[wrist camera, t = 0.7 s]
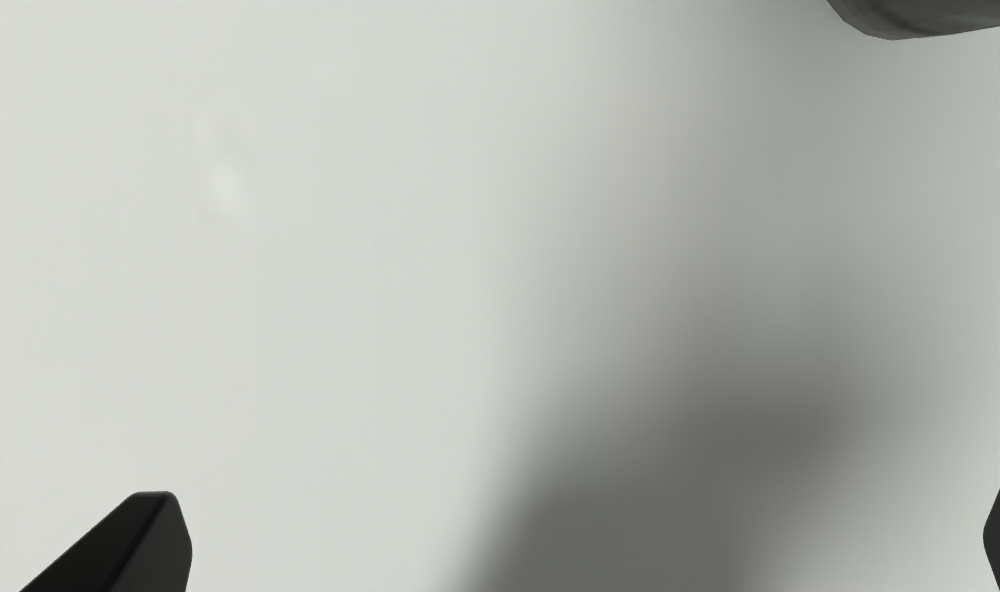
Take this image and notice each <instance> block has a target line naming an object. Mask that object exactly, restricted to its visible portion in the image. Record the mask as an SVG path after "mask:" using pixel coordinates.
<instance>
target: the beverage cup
mask: <svg viewBox="0 0 1000 592" xmlns="http://www.w3.org/2000/svg"><path fill="white" fill-rule="evenodd" d="M827 1H828V2H829V3H830V5H831V6H832V7H833V8H834V10H835V11H836V12H837V13H838V14H839V16H840V17H841V18H842V19H843V21H845V22H847V23H848V24H850V25H851V26H853V27H855V28H856V29H858V30H859V31H861V32H863V33H864V34H866V35H870V36H875V37H879V38H884V39H888V40H899V39H909V38H923V37H933V36H943V35H952V34H957V33H963V32H969V31H975V30H980V29H986V28H992V27H998V26H1000V0H827Z"/></svg>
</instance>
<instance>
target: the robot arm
mask: <svg viewBox="0 0 1000 592" xmlns="http://www.w3.org/2000/svg"><path fill="white" fill-rule="evenodd" d="M983 542H984V548H985V551H986V554H987V557H988V560H989V563H990V565H991V568H992V571H993V574H994V576H995V579H996V582H997V585H998V588H999V590H1000V490H999V492H998V494H997V497H996V499H995V502H994V504H993V507H992V509H991V511H990V514H989V516H988V519H987V521H986V523H985V526H984V532H983ZM191 562H192V543H191V539H190V536H189V533H188V530H187V527H186V524H185V521H184V517H183V514H182V511H181V508H180V505H179V502H178V500H177V498H176V496H175V495H174V494H173V493H171V492H168V491H155V492H137V493H134V494H132V495H131V496H129V497H128V498H126V499H125V500H124V501H123V502H122V503H121V504H120V505H118V506H117V507H116V508H115V509H114V510H113V511H112V512H110V513H109V514H108V515H107V516H106V517H105V518H103V519H102V520H101V521H100V522H99V523H98V524H97V525H95V526H94V527H93V528H92V529H91V530H90V531H89V532H87V533H86V534H85V535H84V536H83V537H82V538H80V539H79V540H78V541H77V542H76V543H75V544H74V545H72V546H71V547H70V548H69V549H68V550H67V551H65V552H64V553H63V554H62V555H61V556H60V557H59V558H57V559H56V560H55V561H54V562H53V563H52V564H51V565H49V566H48V567H47V568H46V569H45V570H44V571H42V572H41V573H40V574H39V575H38V576H37V577H36V578H34V579H33V580H32V581H31V582H30V583H29V584H28V585H26V586H25V587H24V588H23V589H22V590H21V591H19V592H185V591H186V586H187V582H188V577H189V572H190V568H191Z"/></svg>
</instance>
